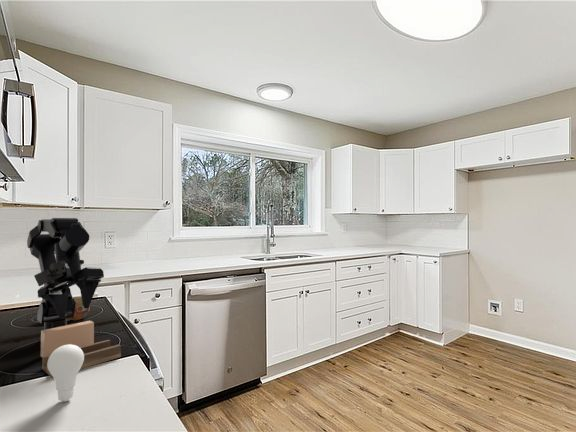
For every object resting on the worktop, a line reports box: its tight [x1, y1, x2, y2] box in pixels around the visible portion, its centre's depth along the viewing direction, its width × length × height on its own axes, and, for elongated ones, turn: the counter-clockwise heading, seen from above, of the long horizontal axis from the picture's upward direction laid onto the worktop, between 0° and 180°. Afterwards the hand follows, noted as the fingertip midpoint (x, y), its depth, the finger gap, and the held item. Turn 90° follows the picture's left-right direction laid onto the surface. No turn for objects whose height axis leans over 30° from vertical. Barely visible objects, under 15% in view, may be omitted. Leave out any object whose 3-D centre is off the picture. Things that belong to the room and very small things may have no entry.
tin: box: [67, 296, 91, 322], centre depth 125 cm, size 15×3×8 cm, turn 105°
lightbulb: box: [47, 344, 84, 403], centre depth 67 cm, size 6×6×11 cm
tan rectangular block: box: [40, 320, 95, 358], centre depth 93 cm, size 3×12×7 cm, turn 141°
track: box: [41, 339, 122, 379], centre depth 85 cm, size 8×16×3 cm, turn 141°
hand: (74, 313), depth 91 cm, fingers open, 9 cm apart
